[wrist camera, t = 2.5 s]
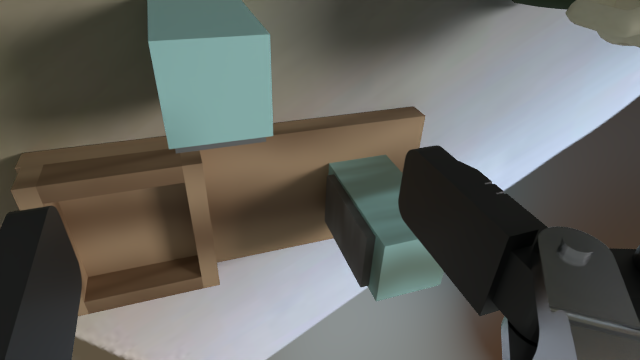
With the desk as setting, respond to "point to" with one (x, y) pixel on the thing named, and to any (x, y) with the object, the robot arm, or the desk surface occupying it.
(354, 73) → the desk surface
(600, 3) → the character mug
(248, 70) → the teal rectangular prism
